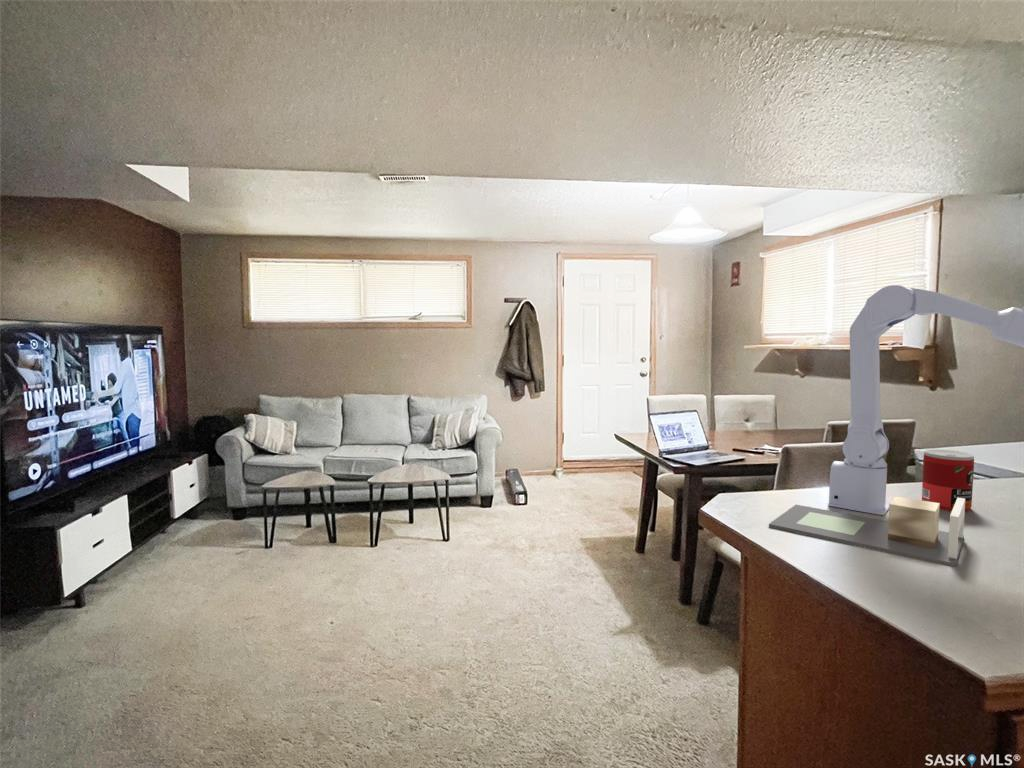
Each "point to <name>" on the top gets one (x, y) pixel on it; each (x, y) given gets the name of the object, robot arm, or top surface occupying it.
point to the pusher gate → (956, 526)
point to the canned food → (947, 478)
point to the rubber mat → (860, 533)
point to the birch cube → (913, 521)
